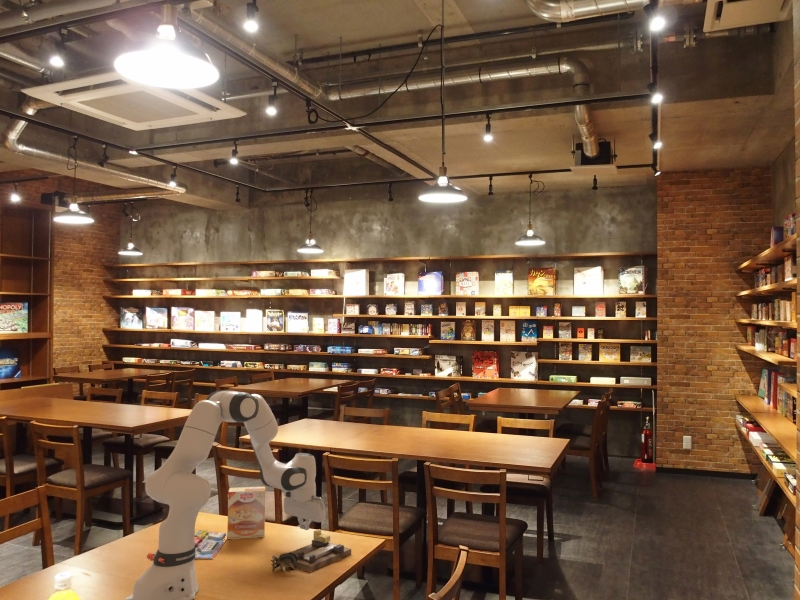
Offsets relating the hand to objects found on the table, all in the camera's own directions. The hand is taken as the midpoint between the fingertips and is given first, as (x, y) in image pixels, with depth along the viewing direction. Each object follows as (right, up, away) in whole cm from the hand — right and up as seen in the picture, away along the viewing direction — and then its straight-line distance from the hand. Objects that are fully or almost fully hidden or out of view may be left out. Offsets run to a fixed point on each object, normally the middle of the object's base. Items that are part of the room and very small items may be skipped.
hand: (304, 529), depth 249 cm
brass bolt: (+8, -2, -6) cm, 10 cm away
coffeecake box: (-26, -7, +12) cm, 29 cm away
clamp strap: (+8, -4, -15) cm, 17 cm away
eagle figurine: (-4, -6, -24) cm, 25 cm away
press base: (+6, -6, -12) cm, 15 cm away
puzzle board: (-44, -8, 0) cm, 45 cm away
